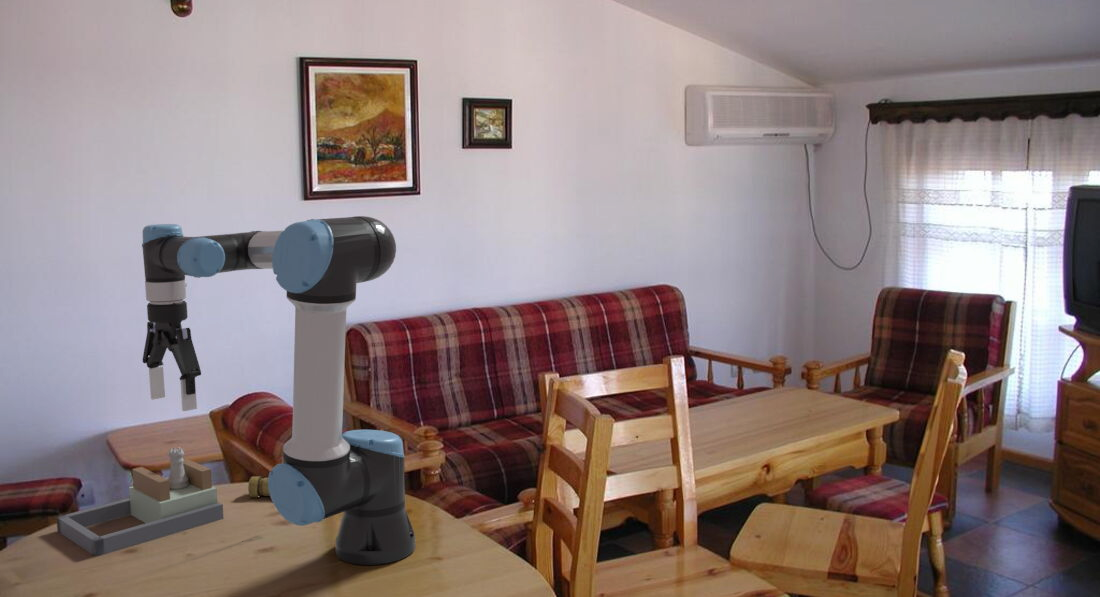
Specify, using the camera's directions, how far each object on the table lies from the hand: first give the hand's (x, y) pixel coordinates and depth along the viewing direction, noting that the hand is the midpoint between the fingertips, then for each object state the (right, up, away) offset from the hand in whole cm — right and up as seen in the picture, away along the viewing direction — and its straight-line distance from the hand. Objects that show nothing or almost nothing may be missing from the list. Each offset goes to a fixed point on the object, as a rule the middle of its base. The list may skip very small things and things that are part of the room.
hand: (173, 403), depth 205 cm
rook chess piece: (0, -18, +3) cm, 18 cm away
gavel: (+16, -21, +25) cm, 37 cm away
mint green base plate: (-1, -23, +3) cm, 24 cm away
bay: (-6, -25, -2) cm, 26 cm away
